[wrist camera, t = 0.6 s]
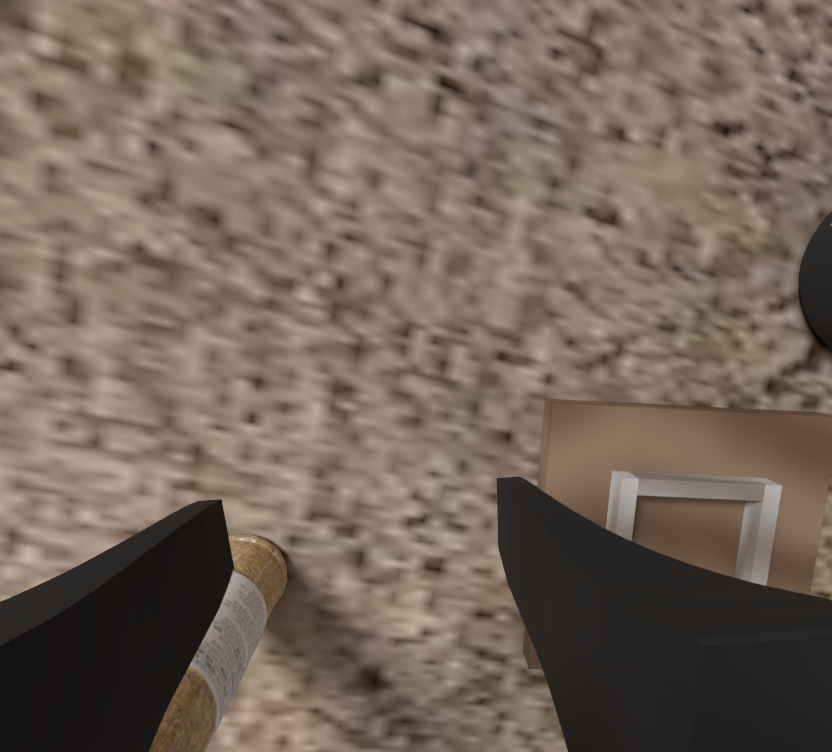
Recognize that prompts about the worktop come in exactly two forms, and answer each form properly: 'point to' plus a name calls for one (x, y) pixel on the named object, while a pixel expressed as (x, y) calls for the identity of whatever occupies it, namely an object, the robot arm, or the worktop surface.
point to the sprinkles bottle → (224, 647)
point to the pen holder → (818, 281)
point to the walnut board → (695, 483)
